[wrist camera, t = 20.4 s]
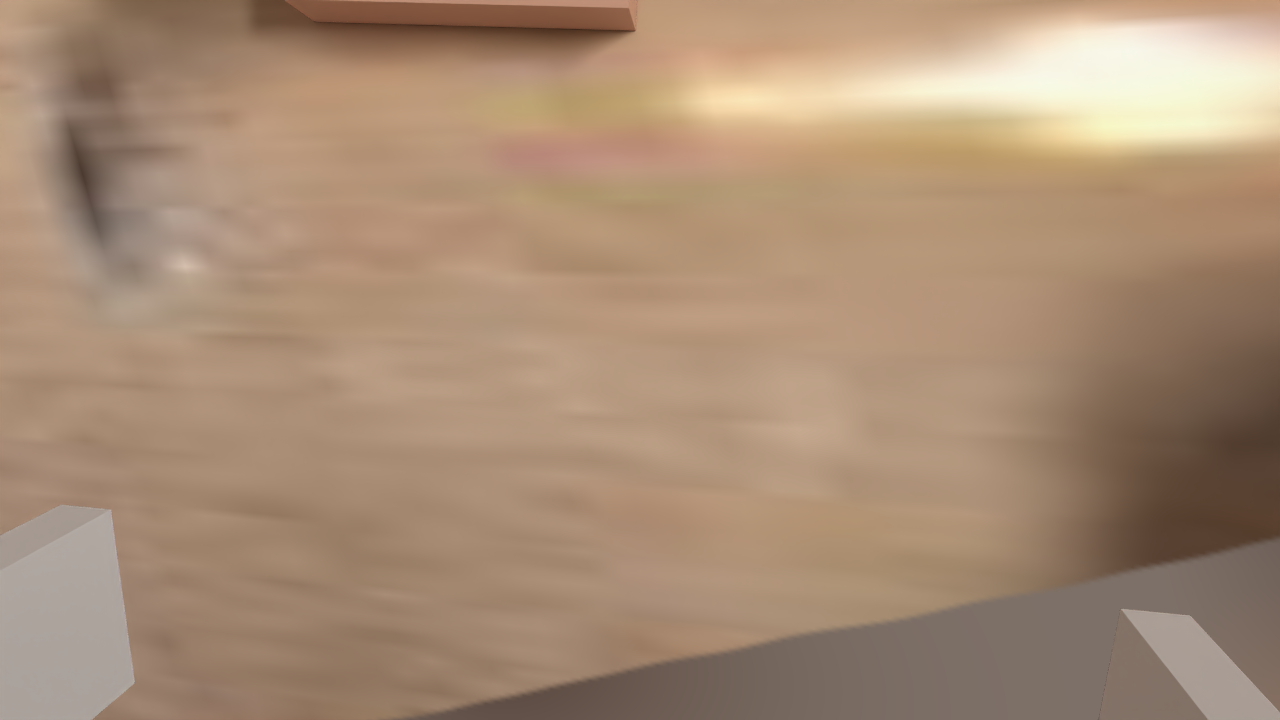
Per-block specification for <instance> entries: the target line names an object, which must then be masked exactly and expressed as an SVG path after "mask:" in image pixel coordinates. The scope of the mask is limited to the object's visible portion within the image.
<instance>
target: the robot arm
mask: <svg viewBox="0 0 1280 720" xmlns="http://www.w3.org/2000/svg"><path fill="white" fill-rule="evenodd" d="M134 683H135V681H134V673H133V666H132V659H131V652H130V644H129V637H128V630H127V623H126V616H125V608H124V601H123V594H122V587H121V579H120V572H119V565H118V558H117V550H116V543H115V536H114V529H113V522H112V514H111V509H100V508H90V507H80V506H70V505H59V506H57V507H55V508H53V509H51V510H49V511H47V512H45V513H43V514H41V515H39V516H38V517H36V518H34V519H32V520H30V521H28V522H26V523H24V524H22V525H20V526H18V527H16V528H14V529H12V530H10V531H8V532H6V533H4V534H2V535H0V720H92V719H93V718H94V717H95V716H97V715H98V714H99V713H100V712H101V711H102V710H104V709H105V708H106V707H107V706H108V705H110V704H111V703H112V702H113V701H114V700H115V699H117V698H118V697H119V696H120V695H121V694H122V693H124V692H125V691H126V690H127V689H128V688H130V687H131V686H132V685H133V684H134ZM1099 720H1280V712H1279V711H1278V710H1277V709H1276V707H1275V706H1274V705H1273V704H1272V703H1271V702H1270V701H1269V700H1268V699H1267V698H1266V697H1265V696H1264V695H1263V693H1262V692H1261V691H1260V690H1259V689H1258V688H1257V687H1256V686H1255V685H1254V684H1253V683H1252V682H1251V681H1250V679H1249V678H1248V677H1247V676H1246V675H1245V674H1244V673H1243V672H1242V671H1241V670H1240V669H1239V667H1238V666H1237V665H1236V664H1235V663H1234V662H1233V661H1232V660H1231V659H1230V658H1229V657H1228V656H1227V655H1226V653H1225V652H1224V651H1223V650H1222V649H1221V648H1220V647H1219V646H1218V645H1217V644H1216V643H1215V642H1214V641H1213V639H1212V638H1211V637H1210V636H1209V635H1208V634H1207V633H1206V632H1205V631H1204V630H1203V629H1202V628H1201V626H1200V625H1198V623H1197V622H1196V621H1195V620H1194V619H1193V618H1192V617H1191V616H1190V615H1181V614H1170V613H1161V612H1151V611H1140V610H1130V609H1120V614H1119V619H1118V624H1117V629H1116V634H1115V639H1114V644H1113V649H1112V654H1111V659H1110V664H1109V669H1108V674H1107V679H1106V684H1105V689H1104V694H1103V699H1102V704H1101V709H1100V714H1099Z"/></svg>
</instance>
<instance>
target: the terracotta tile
mask: <svg viewBox="0 0 1280 720" xmlns="http://www.w3.org/2000/svg"><path fill="white" fill-rule="evenodd" d="M284 1H286V2H287V3H289V4H290V5H291V6H293V7H294V8H296V9H297V10H299V11H300V12H301V13H303V14H304V15H306V16H307V17H309V18H310V19H311V20H313V21H314V22H344V23H380V24H416V25H452V26H489V27H525V28H561V29H597V30H633V31H636V15H637V0H284Z"/></svg>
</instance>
